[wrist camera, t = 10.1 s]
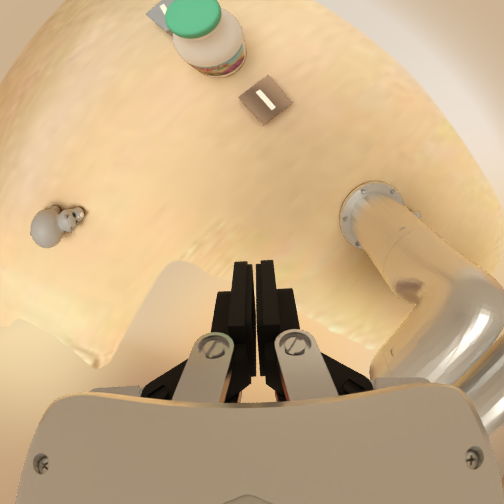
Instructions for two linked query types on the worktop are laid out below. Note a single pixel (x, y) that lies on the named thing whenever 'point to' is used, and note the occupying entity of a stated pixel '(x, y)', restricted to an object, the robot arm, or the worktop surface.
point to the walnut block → (265, 99)
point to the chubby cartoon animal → (54, 225)
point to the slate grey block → (160, 14)
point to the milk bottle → (206, 36)
